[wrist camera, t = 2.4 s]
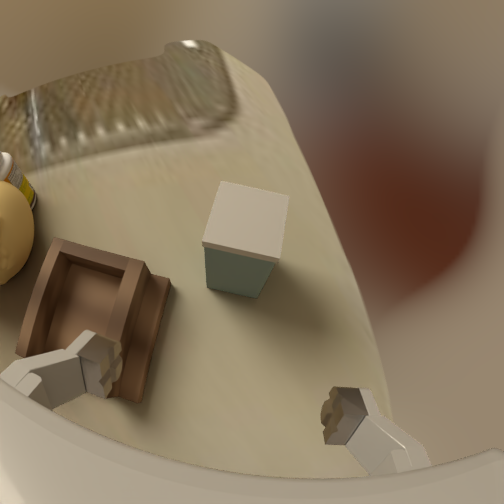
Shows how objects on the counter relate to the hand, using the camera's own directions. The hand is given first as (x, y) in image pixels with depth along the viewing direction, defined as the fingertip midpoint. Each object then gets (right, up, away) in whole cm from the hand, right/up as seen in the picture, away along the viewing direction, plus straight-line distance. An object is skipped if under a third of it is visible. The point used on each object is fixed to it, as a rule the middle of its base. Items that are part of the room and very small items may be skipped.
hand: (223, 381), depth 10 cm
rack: (-15, -2, +15) cm, 21 cm away
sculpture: (-29, +5, +16) cm, 33 cm away
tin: (0, +3, +19) cm, 20 cm away
